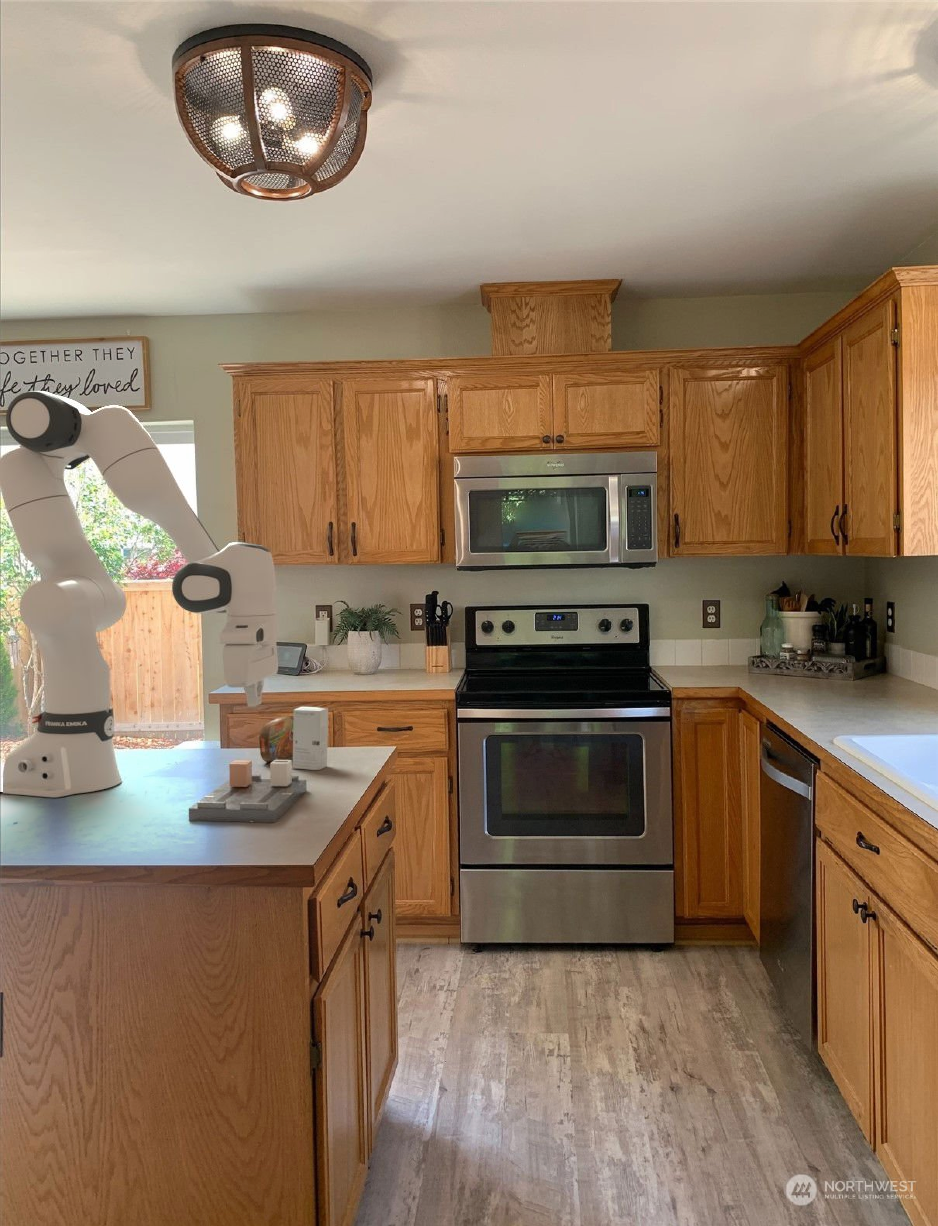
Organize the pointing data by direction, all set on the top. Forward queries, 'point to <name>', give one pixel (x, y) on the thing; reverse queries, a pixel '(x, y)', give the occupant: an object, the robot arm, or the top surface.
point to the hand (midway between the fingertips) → (254, 705)
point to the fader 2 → (280, 772)
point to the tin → (276, 739)
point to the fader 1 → (240, 773)
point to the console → (248, 801)
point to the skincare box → (310, 738)
